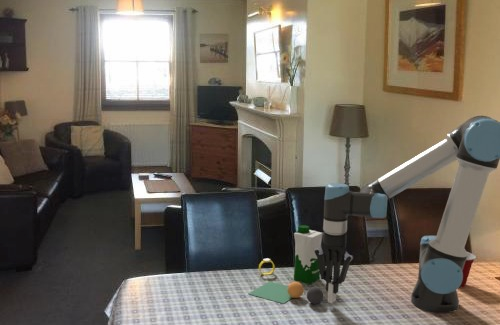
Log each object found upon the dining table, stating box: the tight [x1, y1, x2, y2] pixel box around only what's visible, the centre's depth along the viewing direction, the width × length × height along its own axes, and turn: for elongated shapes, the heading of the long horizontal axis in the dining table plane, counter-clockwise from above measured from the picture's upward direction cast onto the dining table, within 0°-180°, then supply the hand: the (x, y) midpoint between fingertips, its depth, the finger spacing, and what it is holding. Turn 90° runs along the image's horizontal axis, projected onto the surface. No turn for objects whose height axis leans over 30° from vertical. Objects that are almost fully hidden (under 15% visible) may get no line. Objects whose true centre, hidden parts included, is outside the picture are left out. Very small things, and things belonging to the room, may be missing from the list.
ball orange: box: [287, 281, 304, 299], centre depth 191 cm, size 6×6×6 cm
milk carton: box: [293, 224, 323, 285], centre depth 206 cm, size 9×9×20 cm
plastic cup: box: [459, 251, 477, 288], centre depth 206 cm, size 11×11×12 cm
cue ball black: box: [306, 286, 324, 305], centre depth 187 cm, size 6×6×6 cm
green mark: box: [248, 281, 294, 305], centre depth 196 cm, size 14×14×1 cm
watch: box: [258, 257, 276, 276], centre depth 212 cm, size 6×3×6 cm, turn 106°
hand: (331, 301), depth 184 cm, fingers closed
